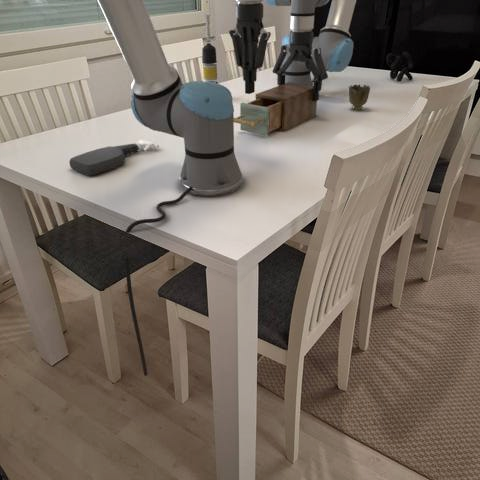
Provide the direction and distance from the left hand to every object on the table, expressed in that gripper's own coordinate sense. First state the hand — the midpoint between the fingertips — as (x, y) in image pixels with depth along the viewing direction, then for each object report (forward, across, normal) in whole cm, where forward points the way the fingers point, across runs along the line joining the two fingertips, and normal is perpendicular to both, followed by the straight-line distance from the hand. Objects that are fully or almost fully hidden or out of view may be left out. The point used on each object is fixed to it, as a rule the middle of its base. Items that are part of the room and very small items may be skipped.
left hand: (249, 92), depth 132 cm
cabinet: (+14, 0, -21) cm, 25 cm away
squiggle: (+14, -10, -100) cm, 101 cm away
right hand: (+7, 0, -28) cm, 29 cm away
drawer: (+13, 0, -9) cm, 15 cm away
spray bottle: (+14, +19, +37) cm, 43 cm away
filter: (+14, +40, -28) cm, 51 cm away
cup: (+14, -14, -46) cm, 50 cm away
